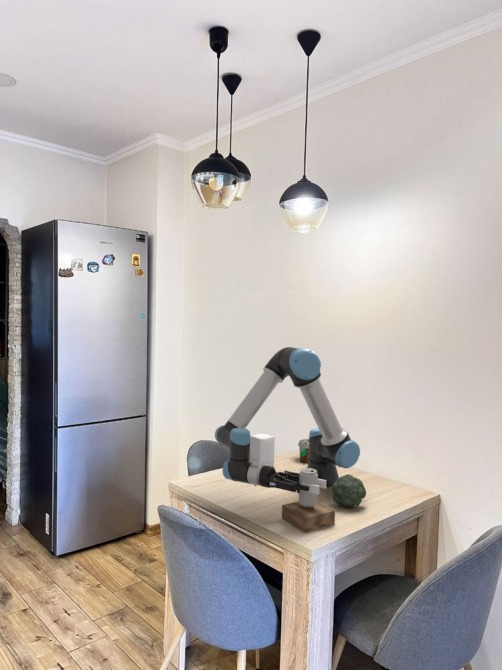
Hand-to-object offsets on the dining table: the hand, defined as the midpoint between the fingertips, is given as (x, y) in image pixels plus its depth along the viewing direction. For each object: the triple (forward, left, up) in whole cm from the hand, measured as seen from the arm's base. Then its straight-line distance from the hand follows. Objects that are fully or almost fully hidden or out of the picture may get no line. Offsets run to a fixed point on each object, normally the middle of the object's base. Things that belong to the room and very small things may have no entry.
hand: (322, 487), depth 164 cm
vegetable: (-21, -10, -13) cm, 27 cm away
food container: (-43, -64, -13) cm, 78 cm away
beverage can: (+3, -4, -7) cm, 9 cm away
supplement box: (-19, -66, -13) cm, 70 cm away
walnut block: (+2, -4, -13) cm, 14 cm away
